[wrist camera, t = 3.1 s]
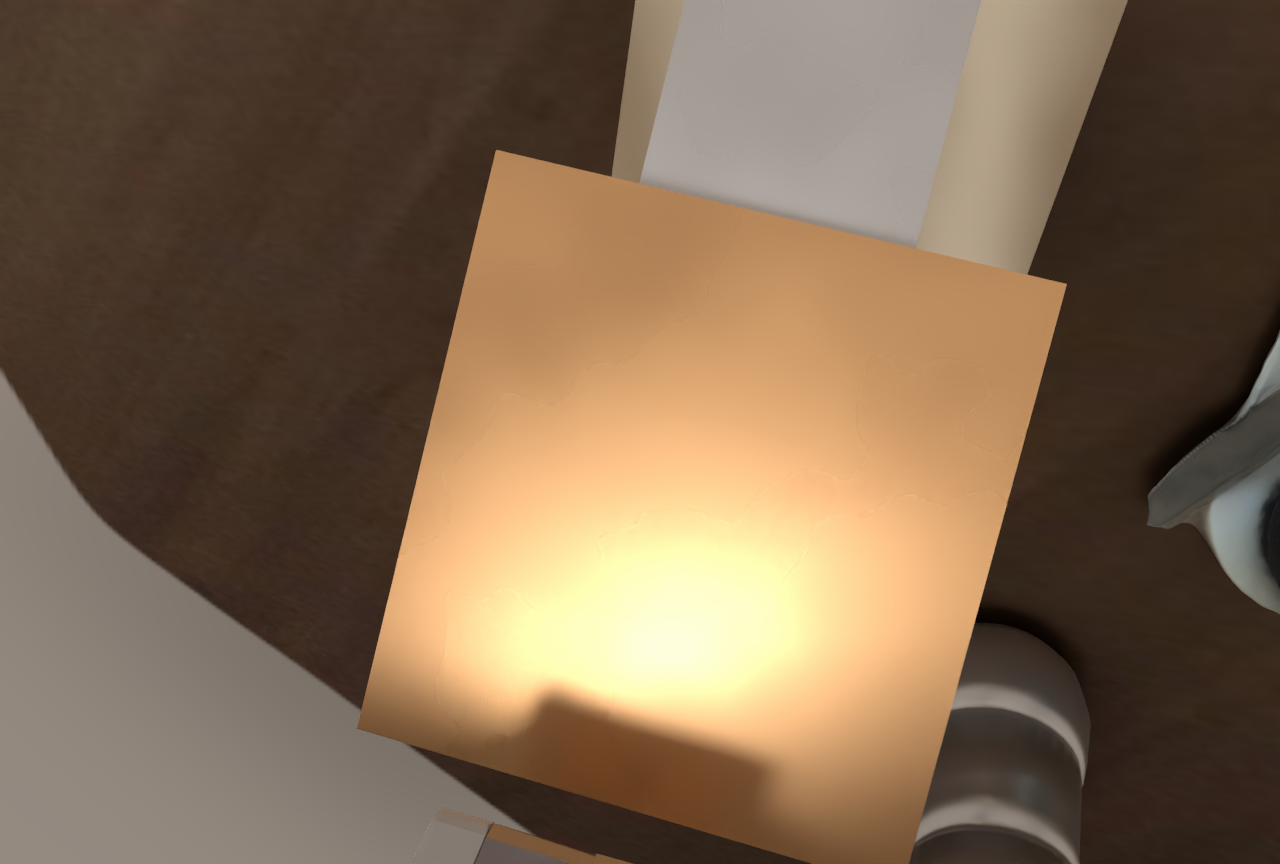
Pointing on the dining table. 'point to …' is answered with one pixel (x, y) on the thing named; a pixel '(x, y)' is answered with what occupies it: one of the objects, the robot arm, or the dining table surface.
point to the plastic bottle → (1008, 758)
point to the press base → (953, 119)
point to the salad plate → (1235, 490)
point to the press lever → (723, 449)
